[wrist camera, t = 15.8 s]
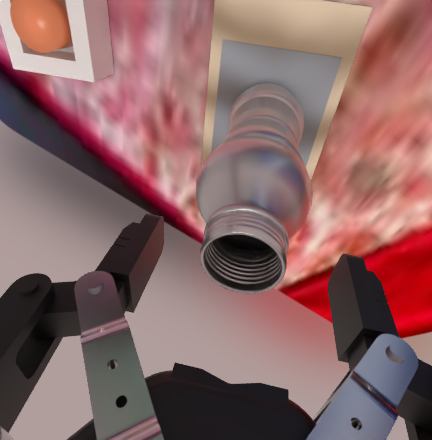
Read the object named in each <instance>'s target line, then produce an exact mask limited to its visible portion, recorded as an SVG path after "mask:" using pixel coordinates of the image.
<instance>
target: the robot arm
mask: <svg viewBox="0 0 432 440" xmlns="http://www.w3.org/2000/svg"><path fill="white" fill-rule="evenodd" d="M163 244H164V219H163V217H162V216H157V215H152V214H146V215H145V216H144V218H143V219H142V221H141V223H140V224H139V223H134V222H133V223H131V224H130V225H128V226H127V227H125V228H124V229H123V230H122V232H121V233H120V235H119V236H118V238H117V239H116V241H115V242H114V245H112V247H111V248H110V250H109V251H108V253H107V254H106V255H105V257H104V259H103V260H102V261H101V263H100V264H99V266H98V267H97V269H96V270H95V271H93V272H89V273H87V274H85V275H84V276H82V277H81V278H79V279H78V281H73V282H59V283H52V282H51V280H50V278H49V277H48V276H46V275H44V274H39V273H36V274H29V275H26V276H23V277H21V278H19V279H18V280H16V281H15V282H14V283H13V284H12V285H11V286H10V287H9V288H8V289H7V291H6V292H5V293H4V294H3V296H2V297H1V298H0V440H13V438H12V437H11V436H10V434H9V431H10V429H11V427H12V426H13V424H14V422H15V420H16V419H17V417H18V415H19V413H20V412H21V410H22V408H23V406H24V404H25V403H26V401H27V399H28V397H29V396H30V394H31V392H32V391H33V389H34V387H35V385H36V384H37V382H38V380H39V378H40V377H41V375H42V373H43V371H44V370H45V368H46V366H47V364H48V363H49V361H50V359H51V357H52V356H53V354H54V352H55V350H56V349H57V347H58V345H59V343H60V341H61V339H62V338H63V337H67V336H78V335H82V336H81V344H82V351H83V357H84V363H85V369H86V375H87V381H88V387H89V394H90V400H91V406H92V412H93V419H92V420H91V421H89V422H88V423H87V424H86V425H84V426H83V427H82V428H81V429H79V430H78V431H77V432H76V433H74V434H73V435H72V436H71V437H69V438H68V439H67V440H386V439H387V437H388V435H389V433H390V431H391V429H392V427H393V426H394V423H395V421H396V420H397V417H398V415H399V416H401V417H402V418H404V419H405V424H406V428H407V432H408V437H409V440H432V366H431V365H429V364H427V363H425V362H423V361H421V360H419V359H418V358H417V356H416V354H415V352H414V350H413V349H412V348H411V347H410V345H408V344H407V343H406V342H405V341H404V340H402V339H401V338H400V337H399V335H398V332H397V329H396V326H395V323H394V320H393V317H392V314H391V311H390V308H389V305H388V304H387V299H386V296H385V295H384V290H383V287H382V284H381V282H380V280H379V279H378V278H377V276H376V275H375V274H374V273H373V272H372V271H367V269H366V266H365V262H364V259H363V258H362V257H358V256H353V255H348V254H343V255H342V256H341V257H340V259H339V261H338V263H337V265H336V267H335V268H334V270H333V272H332V274H331V276H330V278H329V282H328V293H329V300H330V307H331V314H332V321H333V327H334V335H335V341H336V348H337V355H338V360H339V361H343V362H348V363H349V368H350V370H349V371H348V372H347V374H346V375H345V376H344V378H343V379H342V381H341V382H340V383H339V385H338V386H337V387H336V389H335V390H334V391H333V393H332V394H331V396H330V397H329V398H328V400H327V401H326V402H325V404H324V405H323V406H322V408H321V409H320V410H319V412H318V413H317V414H316V415H315V417H314V418H313V419H312V418H311V417H310V416H309V415H308V414H307V413H306V412H305V411H304V410H303V409H302V408H300V406H298V405H297V404H295V403H294V402H293V401H291V400H289V399H288V390H287V389H283V388H279V387H275V386H270V385H266V384H262V383H250V384H249V383H246V384H229V383H227V382H225V381H223V380H221V379H219V378H217V377H216V376H214V375H212V374H210V373H208V372H206V371H205V370H203V369H199V368H195V367H191V366H187V365H183V364H178V363H175V364H174V367H173V371H164V372H160V373H156V374H153V375H151V376H149V377H147V378H144V375H143V371H142V368H141V365H140V362H139V358H138V355H137V352H136V348H135V345H134V342H133V338H132V335H131V331H130V328H129V325H128V322H127V321H126V319H125V316H124V313H125V311H129V312H134V310H135V308H136V306H137V304H138V302H139V300H140V298H141V296H142V293H143V291H144V289H145V287H146V285H147V283H148V281H149V279H150V276H151V274H152V272H153V270H154V268H155V265H156V264H157V262H158V259H159V257H160V255H161V253H162V250H163Z"/></svg>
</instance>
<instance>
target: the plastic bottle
mask: <svg viewBox="0 0 432 440" xmlns="http://www.w3.org/2000/svg"><path fill="white" fill-rule="evenodd" d="M303 130H304V113H303V110H302V107H301V105H300V103H299V102H298V100H297V99H296V97H295V96H294V95H293V94H292V93H291V92H290V91H288V90H287V89H285V88H284V87H282V86H280V85H277V84H272V83H262V84H258V85H255V86H253V87H251V88H249V89H247V90H245V91H244V92H243V93H241V94H240V95H239V96H238V98H237V99H236V100H235V102H234V104H233V105H232V108H231V111H230V114H229V123H228V134H227V136H226V137H225V139H224V140H223V141H222V142H221V143H220V144H219V145H218V146H217V147H216V148H215V149H214V150H213V151H212V153H211V154H210V155H209V156H208V157H207V159H206V160H205V161H204V163H203V165H202V167H201V168H200V170H199V173H198V177H197V181H196V198H197V204H198V208H199V211H200V213H201V216H202V217H203V219H204V221H205V222H206V227H205V230H204V241H203V244H202V247H201V253H200V260H201V265H202V267H203V270H204V271H205V273H206V274H207V275H208V276H209V277H210V278H211V279H212V280H213V281H214V282H215V283H217V284H218V285H220V286H222V287H224V288H226V289H228V290H231V291H234V292H238V293H245V294H256V293H262V292H265V291H268V290H271V289H272V288H274V287H276V286H277V285H278V284H279V283H280V282H281V280H282V279H283V277H284V274H285V271H286V255H287V252H288V239H290V238H291V237H292V236H294V235H295V234H296V233H297V232H298V231H299V230H300V228H301V227H302V225H303V224H304V222H305V220H306V218H307V215H308V213H309V210H310V207H311V205H312V196H313V193H312V186H311V182H310V178H309V174H308V172H307V169H306V167H305V165H304V162H303V160H302V158H301V156H300V152H299V142H300V140H301V137H302V133H303Z"/></svg>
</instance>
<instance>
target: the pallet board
mask: <svg viewBox="0 0 432 440" xmlns="http://www.w3.org/2000/svg"><path fill="white" fill-rule="evenodd" d="M371 10H372V7H367V6H360V5H352V4H345V3H337V2H330V1H323V0H215V3H214V15H213V27H212V39H211V51H210V63H209V75H208V88H207V100H206V112H205V124H204V136H203V148H202V160H201V167H202V165H203V163H204V161H205V160H206V159H207V157H208V156H209V155H210V154H211V153H212V151H213V150H214V149H215V148H216V147H217V146H218V145H219V144H220V143H221V142H222V141H223V140H224V139H225V137H226V136H227V134H228V123H229V114H230V111H231V108H232V105H233V104H234V102H235V100H236V99H237V98H238V96H239V95H240V94H241V93H243V92H244V91H245V90H247V89H249V88H251V87H253V86H255V85H258V84H262V83H272V84H277V85H280V86H282V87H284V88H285V89H287V90H288V91H290V92H291V93H292V94H293V95H294V96H295V97H296V99H297V100H298V102H299V103H300V105H301V107H302V110H303V113H304V130H303V133H302V137H301V140H300V142H299V152H300V156H301V158H302V160H303V162H304V165H305V167H306V169H307V172H308V174H309V178H310V182H311V179H312V176H313V173H314V171H315V168H316V165H317V162H318V159H319V157H320V154H321V151H322V148H323V145H324V142H325V140H326V137H327V134H328V131H329V128H330V126H331V123H332V120H333V117H334V114H335V112H336V109H337V106H338V103H339V100H340V97H341V95H342V92H343V89H344V86H345V83H346V81H347V78H348V75H349V72H350V69H351V66H352V64H353V61H354V58H355V55H356V52H357V50H358V47H359V44H360V41H361V38H362V36H363V33H364V30H365V27H366V24H367V21H368V19H369V16H370V13H371Z"/></svg>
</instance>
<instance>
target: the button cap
mask: <svg viewBox="0 0 432 440" xmlns="http://www.w3.org/2000/svg"><path fill="white" fill-rule="evenodd" d="M10 16H11V21H12V24H13V27H14V29H15V31H16V33H17V35H18V36H19V38H20V39H21V40H22V41H23V42H24V43H25V44H26V45H27V46H28V47H29V48H31V49H32V50H34V51H37V52H40V53H47V52H51V51H55V50H59V49H63V48H67V47H72V46H73V42H72V36H71V30H70V25H69V19H68V13H67V7H66V1H65V0H13V1H12V3H11V7H10Z"/></svg>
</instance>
